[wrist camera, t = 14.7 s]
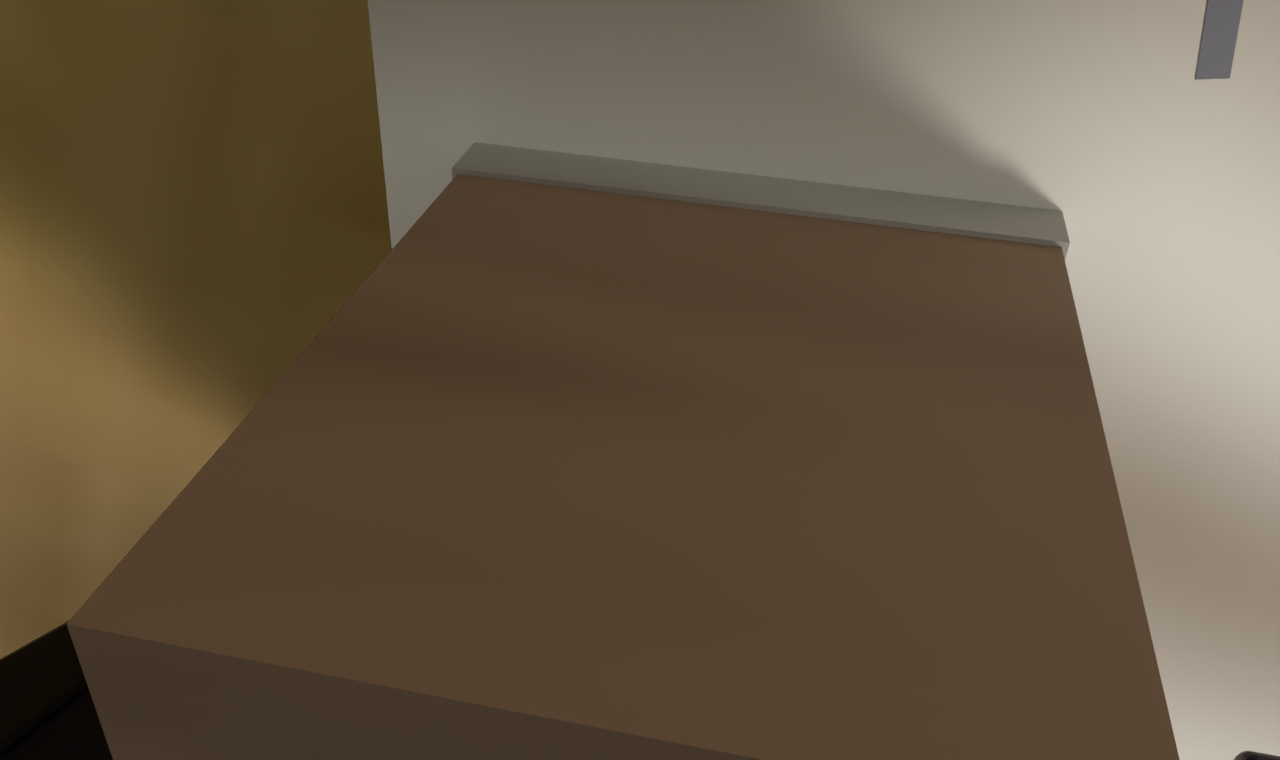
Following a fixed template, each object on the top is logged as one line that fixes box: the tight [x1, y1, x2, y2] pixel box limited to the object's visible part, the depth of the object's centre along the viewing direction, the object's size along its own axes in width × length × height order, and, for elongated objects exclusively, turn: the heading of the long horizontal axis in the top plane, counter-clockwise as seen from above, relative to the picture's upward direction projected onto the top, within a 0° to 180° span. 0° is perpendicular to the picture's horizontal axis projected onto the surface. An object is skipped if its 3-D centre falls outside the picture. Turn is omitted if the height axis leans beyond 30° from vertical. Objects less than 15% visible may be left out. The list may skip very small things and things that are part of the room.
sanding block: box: [67, 142, 1180, 760], centre depth 9 cm, size 7×5×6 cm
